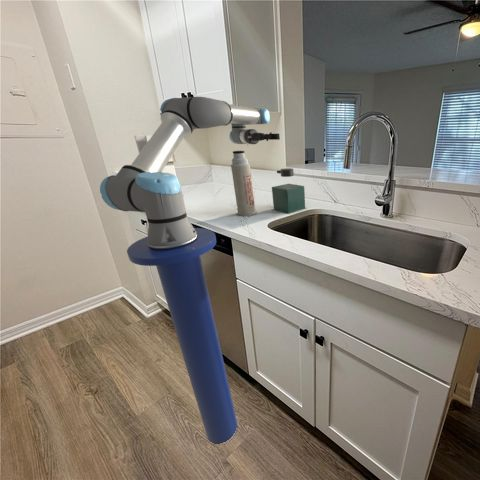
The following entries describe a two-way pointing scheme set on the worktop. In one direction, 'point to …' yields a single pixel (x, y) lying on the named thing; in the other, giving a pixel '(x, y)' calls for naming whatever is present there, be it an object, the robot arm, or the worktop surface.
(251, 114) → the robot arm
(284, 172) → the nozzle
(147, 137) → the display case
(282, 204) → the dark teal foam cube
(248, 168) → the thermos bottle
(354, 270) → the worktop surface
